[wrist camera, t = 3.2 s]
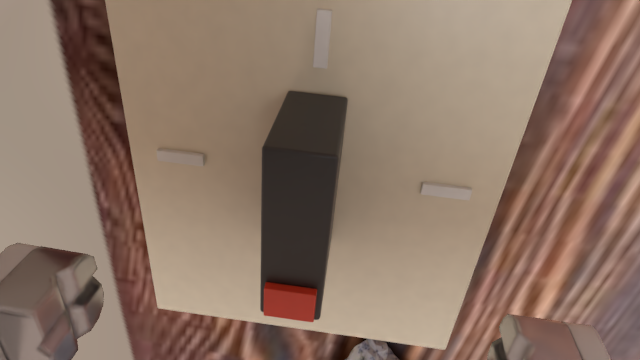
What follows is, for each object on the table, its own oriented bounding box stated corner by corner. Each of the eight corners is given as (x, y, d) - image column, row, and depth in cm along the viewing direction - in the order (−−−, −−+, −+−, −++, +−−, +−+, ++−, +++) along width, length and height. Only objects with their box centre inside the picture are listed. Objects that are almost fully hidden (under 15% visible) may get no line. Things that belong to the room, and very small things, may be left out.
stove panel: (142, -130, 12) (76, -136, 10) (556, -91, 12) (608, -86, 9) (185, 255, 20) (155, 312, 17) (437, 290, 19) (446, 354, 17)
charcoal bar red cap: (287, 89, 12) (258, 152, 9) (348, 96, 12) (338, 162, 9) (281, 235, 15) (257, 320, 12) (330, 242, 14) (318, 328, 12)
